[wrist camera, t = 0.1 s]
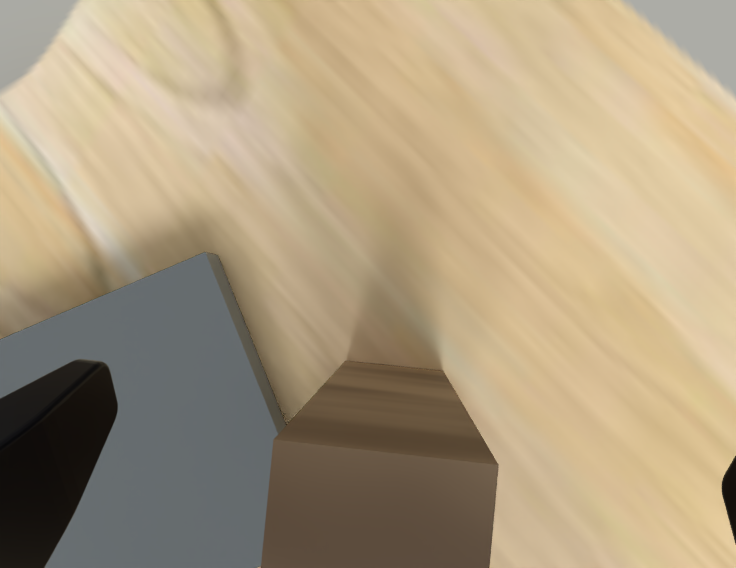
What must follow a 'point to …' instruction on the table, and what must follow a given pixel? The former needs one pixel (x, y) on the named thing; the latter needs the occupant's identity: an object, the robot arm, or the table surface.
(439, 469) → the walnut handle
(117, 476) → the slate board
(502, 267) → the table surface
